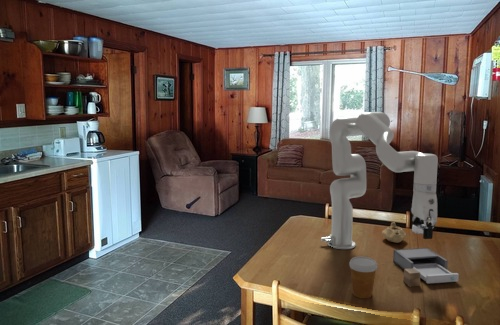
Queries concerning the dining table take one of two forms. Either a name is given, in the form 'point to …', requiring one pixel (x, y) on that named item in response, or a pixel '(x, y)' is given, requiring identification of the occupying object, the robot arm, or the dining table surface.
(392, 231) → the oil lamp
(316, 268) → the dining table surface
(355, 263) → the disposable coffee cup
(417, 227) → the silver disc
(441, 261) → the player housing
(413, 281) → the walnut block
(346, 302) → the dining table surface
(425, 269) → the tray
